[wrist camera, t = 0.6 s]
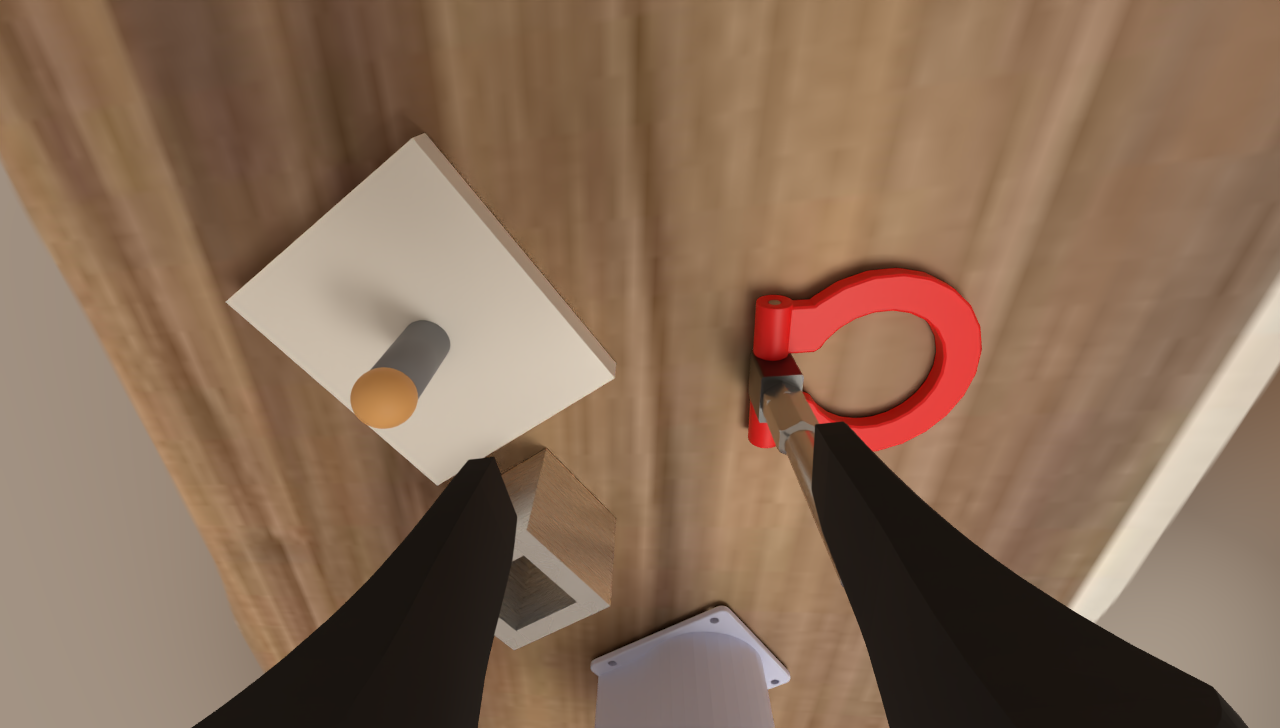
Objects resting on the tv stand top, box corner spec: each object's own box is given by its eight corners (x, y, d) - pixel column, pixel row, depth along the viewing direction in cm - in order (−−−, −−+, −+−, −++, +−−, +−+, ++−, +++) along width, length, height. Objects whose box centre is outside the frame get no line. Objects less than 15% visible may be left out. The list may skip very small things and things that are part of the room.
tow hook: (990, 257, 22) (751, 271, 21) (1396, 489, 10) (898, 521, 10) (941, 432, 26) (741, 444, 26) (1193, 731, 15) (839, 756, 14)
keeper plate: (445, 468, 26) (394, 576, 21) (245, 289, 22) (115, 369, 17) (616, 363, 23) (607, 458, 18) (425, 132, 19) (337, 167, 14)
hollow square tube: (533, 561, 29) (514, 650, 25) (461, 497, 27) (426, 583, 23) (615, 518, 28) (610, 606, 23) (546, 448, 26) (526, 529, 21)
